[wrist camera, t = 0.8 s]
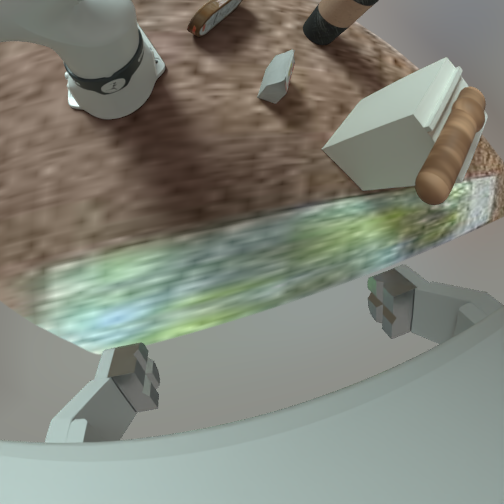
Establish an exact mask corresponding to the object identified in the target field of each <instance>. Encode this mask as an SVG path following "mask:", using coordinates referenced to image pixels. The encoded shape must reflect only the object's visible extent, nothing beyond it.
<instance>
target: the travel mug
mask: <svg viewBox="0 0 504 504" xmlns="http://www.w3.org/2000/svg"><path fill="white" fill-rule="evenodd" d="M377 1H378V0H322V1H321V2H320V3H319V4H318V6H317V7H316V8H315V10H314V11H313V12H312V14H311V15H310V17H309V18H308V19H307V21H306V22H305V24H304V26H303V31H304V34H305V35H306V37H307V38H308V39H309V40H311V41H312V42H314V43H316V44H319V45H327V44H329V43H331V42H332V41H333V40H334V39H335V38H337V37H338V36H339V35H340V34H341V33H342V32H344V31H345V30H346V29H347V28H348V27H350V26H351V25H352V24H353V23H354V22H355V21H356V20H357V19H358V18H359V17H360V16H362V15H363V14H364V13H365V12H366V11H367V10H368V9H369V8H370V7H372V6H373V5H374V4H375V3H376V2H377Z"/></svg>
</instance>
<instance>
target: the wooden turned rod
mask: <svg viewBox="0 0 504 504" xmlns="http://www.w3.org/2000/svg"><path fill="white" fill-rule="evenodd" d="M485 105H486V103H485V98H484V96H483V94H482V93H481V92H480V91H479V90H478V89H476V88H474V87H465V88H463V89H462V90H461V91H460V93H459V95H458V97H457V100H456V101H455V102H454V103H453V105H452V108H451V112H450V114H449V116H448V118H447V120H446V122H445V124H444V126H443V128H442V130H441V132H440V134H439V136H438V138H437V140H436V142H435V144H434V146H433V148H432V149H431V151H430V153H429V155H428V157H427V159H426V161H425V162H424V164H423V166H422V168H421V170H420V171H419V173H418V175H417V177H416V180H415V189H416V192H417V194H418V196H419V197H420V199H421V200H422V201H424V202H425V203H427V204H430V205H437V204H440V203H442V202H444V201H445V200H446V199H447V197H448V196H449V194H450V192H451V190H452V188H453V185H454V183H455V181H456V179H457V177H458V175H459V172H460V170H461V168H462V166H463V163H464V161H465V159H466V156H467V154H468V152H469V149H470V147H471V144H472V142H473V139H474V137H475V134H476V133H477V132H479V131H480V130H481V129H482V128H483V126H484V123H485V113H484V110H485Z"/></svg>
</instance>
